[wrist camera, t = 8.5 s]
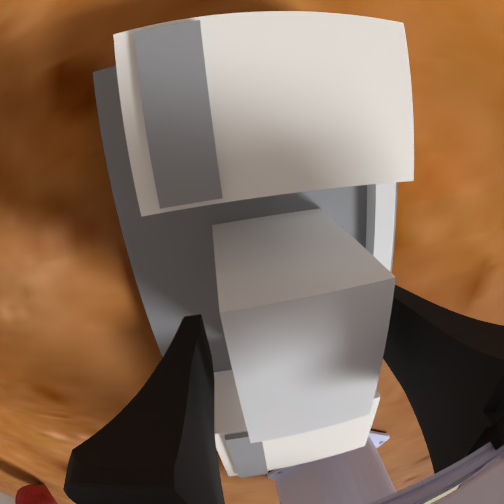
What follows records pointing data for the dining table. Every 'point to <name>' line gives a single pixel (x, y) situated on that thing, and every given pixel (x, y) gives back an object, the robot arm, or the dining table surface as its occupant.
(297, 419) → the block
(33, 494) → the onion
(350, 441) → the board
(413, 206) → the dining table surface
